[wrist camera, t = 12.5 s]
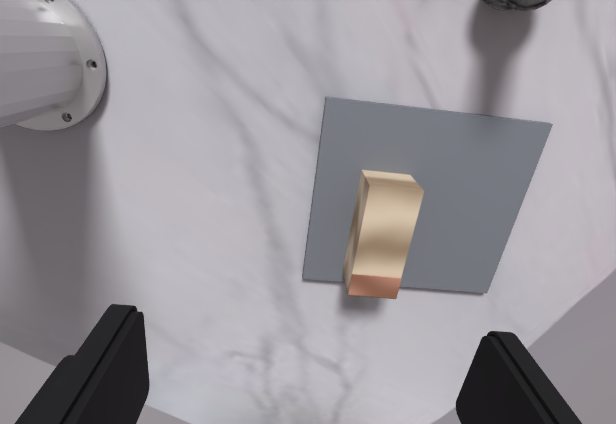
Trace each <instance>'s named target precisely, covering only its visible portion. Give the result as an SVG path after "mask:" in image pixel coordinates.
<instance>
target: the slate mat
mask: <svg viewBox="0 0 616 424" xmlns="http://www.w3.org/2000/svg"><path fill="white" fill-rule="evenodd" d="M552 125H553V124H550V123H546V122H537V121H529V120H520V119H512V118H503V117H495V116H486V115H478V114H469V113H461V112H452V111H443V110H435V109H426V108H418V107H409V106H401V105H392V104H384V103H375V102H367V101H358V100H350V99H341V98H332V97H326V99H325V106H324V114H323V122H322V129H321V137H320V145H319V152H318V160H317V167H316V175H315V183H314V190H313V198H312V206H311V213H310V221H309V229H308V236H307V244H306V251H305V259H304V267H303V274H302V277H303V279H312V280H325V281H337V282H345V279H344V274H343V266H344V261H345V256H346V250H347V245H348V240H349V234H350V229H351V224H352V218H353V213H354V208H355V202H356V197H357V192H358V186H359V181H360V176H361V170H369V171H379V172H388V173H398V174H407V175H411V176H412V177H413V179H414V180H415V181H416V182H417V183H418V184H419V186H420V187H421V188H422V189H423V190H424V195H423V198H422V202H421V206H420V210H419V213H418V217H417V221H416V224H415V228H414V232H413V236H412V239H411V243H410V247H409V251H408V254H407V258H406V262H405V266H404V269H403V273H402V277H401V283H400V286H401V287H413V288H426V289H439V290H451V291H464V292H477V293H487V292H488V290H489V287H490V285H491V282H492V279H493V277H494V274H495V272H496V269H497V267H498V264H499V261H500V259H501V256H502V254H503V251H504V249H505V246H506V243H507V241H508V238H509V236H510V233H511V231H512V228H513V225H514V223H515V220H516V218H517V215H518V213H519V210H520V207H521V205H522V202H523V200H524V197H525V194H526V192H527V189H528V187H529V184H530V182H531V179H532V176H533V174H534V171H535V169H536V166H537V164H538V161H539V158H540V156H541V153H542V151H543V148H544V146H545V143H546V140H547V138H548V135H549V133H550V130H551V128H552Z"/></svg>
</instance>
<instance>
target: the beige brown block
mask: <svg viewBox="0 0 616 424" xmlns="http://www.w3.org/2000/svg"><path fill="white" fill-rule="evenodd" d="M423 195H424V190H423V189H422V188H421V187H420V186H419V184H418V183H417V182H416V181H415V180H414V179H413V177H412V176H411V175H407V174H398V173H388V172H379V171H369V170H361V176H360V181H359V186H358V192H357V197H356V202H355V208H354V213H353V218H352V224H351V229H350V234H349V240H348V245H347V250H346V256H345V261H344V266H343V274H344V279H345V284H346V289H347V294H348V295H351V296H364V297H377V298H389V299H396V298H397V294H398V290H399V287H400V283H401V277H402V273H403V269H404V266H405V262H406V258H407V254H408V251H409V247H410V243H411V239H412V236H413V232H414V228H415V224H416V221H417V217H418V213H419V210H420V206H421V202H422V198H423Z"/></svg>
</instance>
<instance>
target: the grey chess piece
mask: <svg viewBox="0 0 616 424" xmlns="http://www.w3.org/2000/svg"><path fill="white" fill-rule="evenodd" d="M484 1H485V2H486V3H487V4H488V5H489V6H491V7H493V8H495V9H499V10H507V9H515V10H521V11H528V10H534V9H537V8H540V7H542V6H544V5H546V4H547V3H549V2H550V1H551V0H484Z"/></svg>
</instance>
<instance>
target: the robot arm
mask: <svg viewBox="0 0 616 424" xmlns="http://www.w3.org/2000/svg"><path fill="white" fill-rule="evenodd" d="M94 62H96V64H97V67H95V65H94ZM105 83H106V62H105V57H104V53H103V49H102V46H101V43H100V41H99V39H98V36H97V34H96V32H95V30H94V28H93V27H92V25H91V23H90V22H89V20H88V18H87V17H86V16H85V15H84V13H83V12H82V11H81V10H80V9H79V7H78V6H77V5H76V4H75V3H74V2H73V1H72V0H54V1H53V0H0V128H2V127H5V126H9V125H12V124H15V125H18V126H21V127H24V128H28V129H33V130H38V131H54V130H59V129H65V128H67V127H70V126H73V125H75V124H77V123H79V122H81V121H82V120H84V119H86V118H87V117H88V116H89V115H90V114H91V113H92V112H93V111H94V110H95V108H96V107H97V105H98V104H99V102H100V100H101V98H102V95H103V92H104V90H105ZM70 115H71V117H72V118H71V117H70ZM148 392H149V373H148V361H147V350H146V338H145V327H144V316H143V313H142V312H137V308H136V306H131V305H117V304H112V305H110V306H109V307H108V309H107V310H106V312H105V313H104V314H103V316H102V317H101V319H100V320H99V322H98V323H97V324H96V326H95V327H94V329H93V330H92V332H91V333H90V334H89V336H88V337H87V339H86V340H85V342H84V343H83V344H82V346H81V347H80V349H79V350H78V352H77V353H76V354H75V355H68V356H67V357H65V358H63V360H62V361H61V362H60V363H59V364H58V365H57V367H56V368H55V370H54V371H53V372H52V374H51V375H50V376H49V378H48V379H47V380H46V382H45V383H44V384H43V386H42V387H41V389H40V390H39V391H38V393H37V394H36V396H35V397H34V398H33V399H32V401H31V402H30V404H29V405H28V406H27V408H26V409H25V411H24V412H23V413H22V414H21V416H20V417H19V419H18V420H17V421H16V423H15V424H136V423H137V420H138V418H139V415H140V412H141V411H142V408H143V406H144V404H145V401H146V399H147V396H148ZM456 411H457V415H458V417H459V419H460V422H461V424H582V423H581V422H580V420H579V419H578V418H577V416H576V415H575V413H574V412H573V411H572V410H571V408H570V407H569V405H568V404H567V403H566V402H565V400H564V399H563V397H562V396H561V395H560V394H559V392H558V391H557V389H556V388H555V387H554V386H553V384H552V383H551V381H550V380H549V379H548V378H547V376H546V375H545V373H544V372H543V371H542V369H541V368H540V367H539V366H538V364H537V363H536V362H535V360H534V359H533V357H532V356H531V355H530V353H529V352H528V351H527V349H526V348H525V347H524V345H523V344H522V343H521V341H520V340H519V339H518V337H517V336H516V335H515V334H513V333H511V332H498V331H490V332H489V333H488V334H487V336H484V337H482V339H481V341H480V344H479V346H478V349H477V351H476V354H475V356H474V359H473V361H472V364H471V366H470V368H469V371H468V373H467V376H466V378H465V381H464V383H463V386H462V388H461V391H460V393H459V396H458V398H457V401H456Z"/></svg>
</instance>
